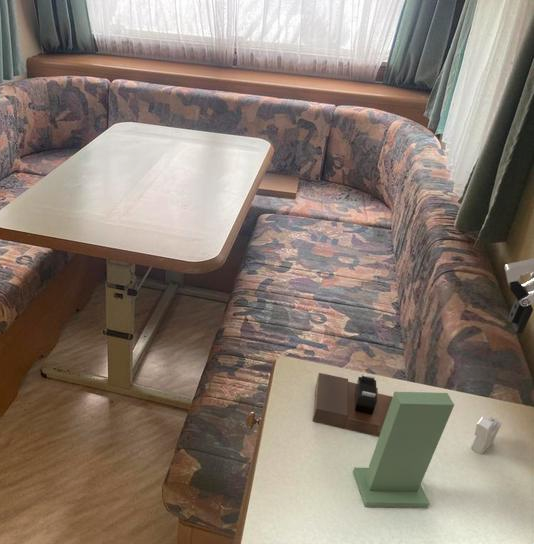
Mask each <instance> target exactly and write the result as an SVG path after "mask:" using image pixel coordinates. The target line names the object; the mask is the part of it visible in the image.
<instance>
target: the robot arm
mask: <svg viewBox="0 0 534 544" xmlns="http://www.w3.org/2000/svg"><path fill="white" fill-rule="evenodd" d="M504 272H505V278H506V283H507V285H508V287H509V290H510V291H511V293H512V294H513V295H514V297H515V300H514V302H513V304H512V307H511V310H510V312H509V314H508V322H509V323H510V324H511V326H512V328H513V330H514V333H515V334H523V333H524V331H525V329H526V327H527V324H528V323H529V320H530V317H531V316H532V314H533V311H534V308H533V306H532V305H533V304H534V258H529V259H523V260H520V261H515V262H510V263H507V264H505V265H504ZM528 274H530V278H532V279H531V280H529V281H527V282H525V283H523V284H522V282H521V280H520V279H521V278H520V277H522V276H523V275H528Z"/></svg>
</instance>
